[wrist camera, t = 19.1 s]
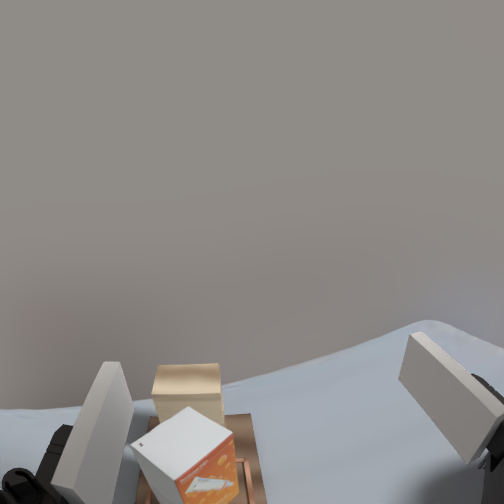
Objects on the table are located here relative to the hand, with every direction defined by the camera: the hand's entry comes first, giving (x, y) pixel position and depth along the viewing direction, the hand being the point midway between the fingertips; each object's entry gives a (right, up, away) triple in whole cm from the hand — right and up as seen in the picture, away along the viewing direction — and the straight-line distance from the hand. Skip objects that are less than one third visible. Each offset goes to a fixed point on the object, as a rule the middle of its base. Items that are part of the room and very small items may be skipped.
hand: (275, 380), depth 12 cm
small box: (-7, -24, +15) cm, 29 cm away
